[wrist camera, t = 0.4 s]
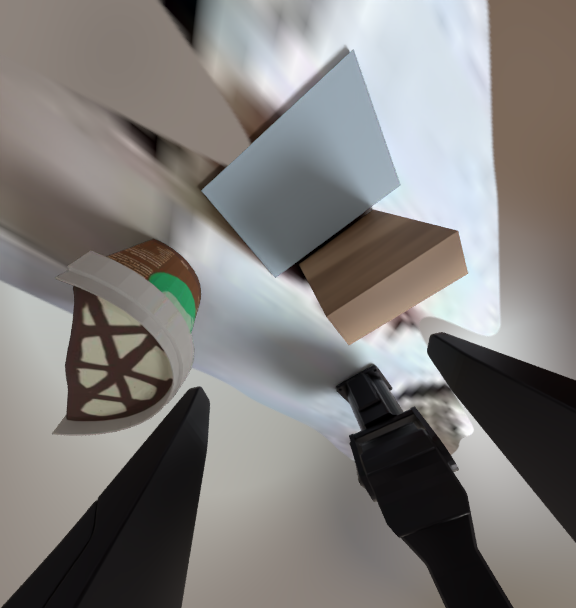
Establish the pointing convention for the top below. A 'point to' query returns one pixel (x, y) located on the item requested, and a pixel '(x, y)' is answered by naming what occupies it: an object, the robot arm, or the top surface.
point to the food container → (127, 336)
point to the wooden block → (381, 270)
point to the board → (308, 171)
